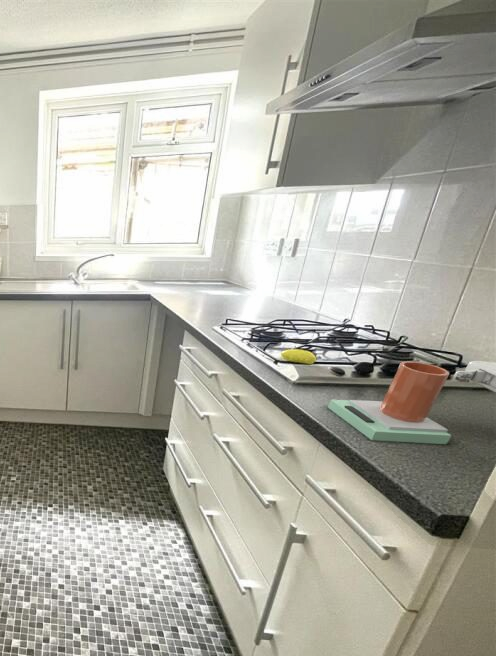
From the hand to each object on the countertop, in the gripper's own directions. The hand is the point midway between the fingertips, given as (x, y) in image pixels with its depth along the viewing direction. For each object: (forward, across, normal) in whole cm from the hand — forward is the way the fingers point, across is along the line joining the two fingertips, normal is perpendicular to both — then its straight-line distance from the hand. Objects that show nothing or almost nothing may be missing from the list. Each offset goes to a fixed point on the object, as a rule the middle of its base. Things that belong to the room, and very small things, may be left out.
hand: (477, 386), depth 78 cm
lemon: (+14, -34, +10) cm, 38 cm away
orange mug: (+10, 0, +7) cm, 12 cm away
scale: (+12, +1, +10) cm, 16 cm away
